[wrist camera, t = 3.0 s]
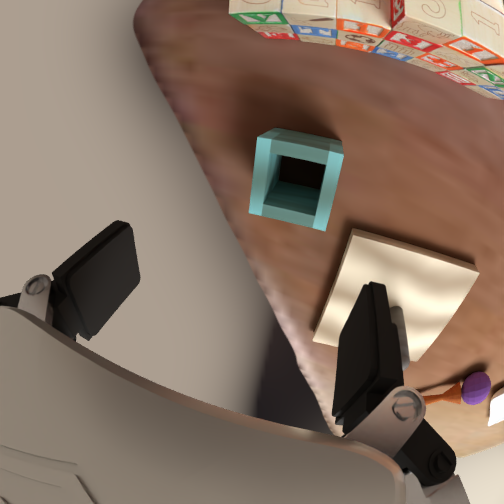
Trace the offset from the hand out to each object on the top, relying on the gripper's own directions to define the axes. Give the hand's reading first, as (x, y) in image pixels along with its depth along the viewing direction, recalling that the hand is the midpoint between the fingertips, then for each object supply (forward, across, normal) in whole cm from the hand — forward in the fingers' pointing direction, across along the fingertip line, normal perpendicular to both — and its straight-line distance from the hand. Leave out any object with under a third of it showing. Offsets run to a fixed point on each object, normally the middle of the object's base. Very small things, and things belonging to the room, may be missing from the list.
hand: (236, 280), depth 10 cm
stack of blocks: (+17, -6, -15) cm, 24 cm away
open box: (+17, -1, 0) cm, 17 cm away
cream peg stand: (+17, -15, +13) cm, 26 cm away
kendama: (+17, -34, +29) cm, 48 cm away
